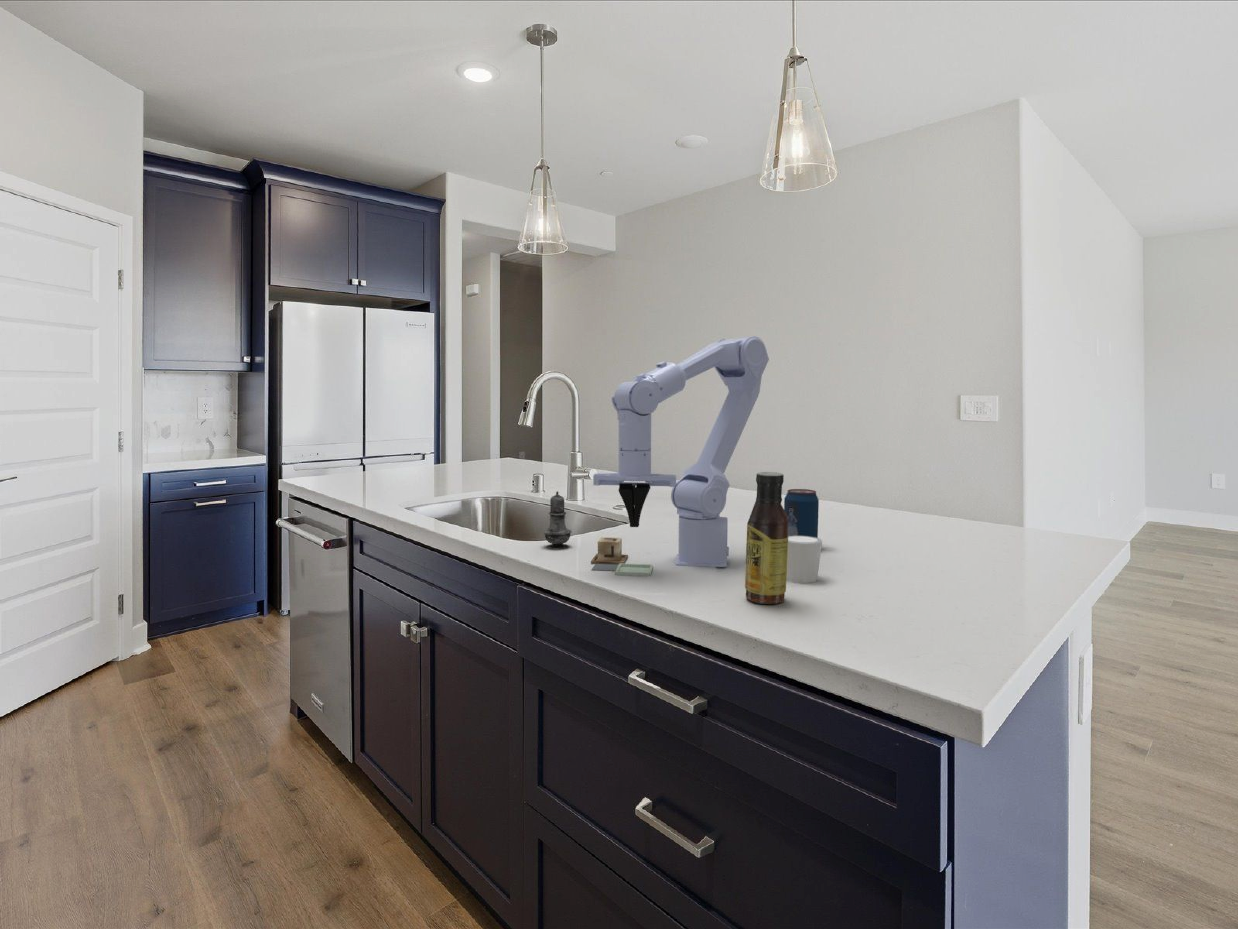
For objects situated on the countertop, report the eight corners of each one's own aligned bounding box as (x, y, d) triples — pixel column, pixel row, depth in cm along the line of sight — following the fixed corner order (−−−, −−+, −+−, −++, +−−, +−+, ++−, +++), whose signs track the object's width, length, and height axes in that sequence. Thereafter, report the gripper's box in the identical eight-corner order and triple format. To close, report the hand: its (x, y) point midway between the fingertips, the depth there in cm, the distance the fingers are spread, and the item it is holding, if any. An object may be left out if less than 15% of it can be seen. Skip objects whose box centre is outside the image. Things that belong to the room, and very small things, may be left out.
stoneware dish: (653, 568, 125) (653, 564, 124) (650, 577, 118) (650, 573, 118) (619, 567, 125) (619, 563, 125) (614, 576, 119) (614, 571, 119)
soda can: (817, 545, 145) (819, 489, 144) (817, 552, 138) (819, 493, 137) (783, 543, 147) (785, 488, 146) (782, 550, 140) (783, 492, 139)
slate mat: (618, 566, 126) (618, 564, 126) (615, 572, 122) (615, 570, 122) (595, 566, 127) (595, 563, 127) (591, 572, 122) (591, 569, 122)
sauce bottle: (740, 594, 108) (742, 470, 106) (778, 593, 109) (781, 470, 107) (751, 607, 102) (754, 475, 100) (792, 606, 102) (795, 475, 100)
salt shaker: (567, 552, 138) (567, 493, 137) (539, 550, 139) (539, 492, 138) (575, 546, 144) (574, 489, 142) (548, 544, 145) (547, 488, 144)
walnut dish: (628, 558, 132) (628, 554, 132) (623, 566, 126) (623, 562, 126) (596, 557, 133) (596, 553, 133) (590, 565, 127) (590, 561, 127)
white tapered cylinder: (799, 585, 114) (800, 544, 113) (771, 576, 120) (772, 537, 119) (829, 580, 117) (831, 540, 116) (801, 571, 123) (802, 533, 122)
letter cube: (621, 558, 131) (621, 537, 131) (618, 563, 127) (618, 542, 127) (601, 557, 132) (601, 537, 131) (597, 562, 128) (597, 541, 127)
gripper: (590, 451, 117) (590, 529, 118) (674, 452, 115) (674, 531, 116) (597, 448, 124) (597, 521, 125) (677, 449, 122) (676, 524, 123)
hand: (634, 526), depth 121 cm, fingers closed
